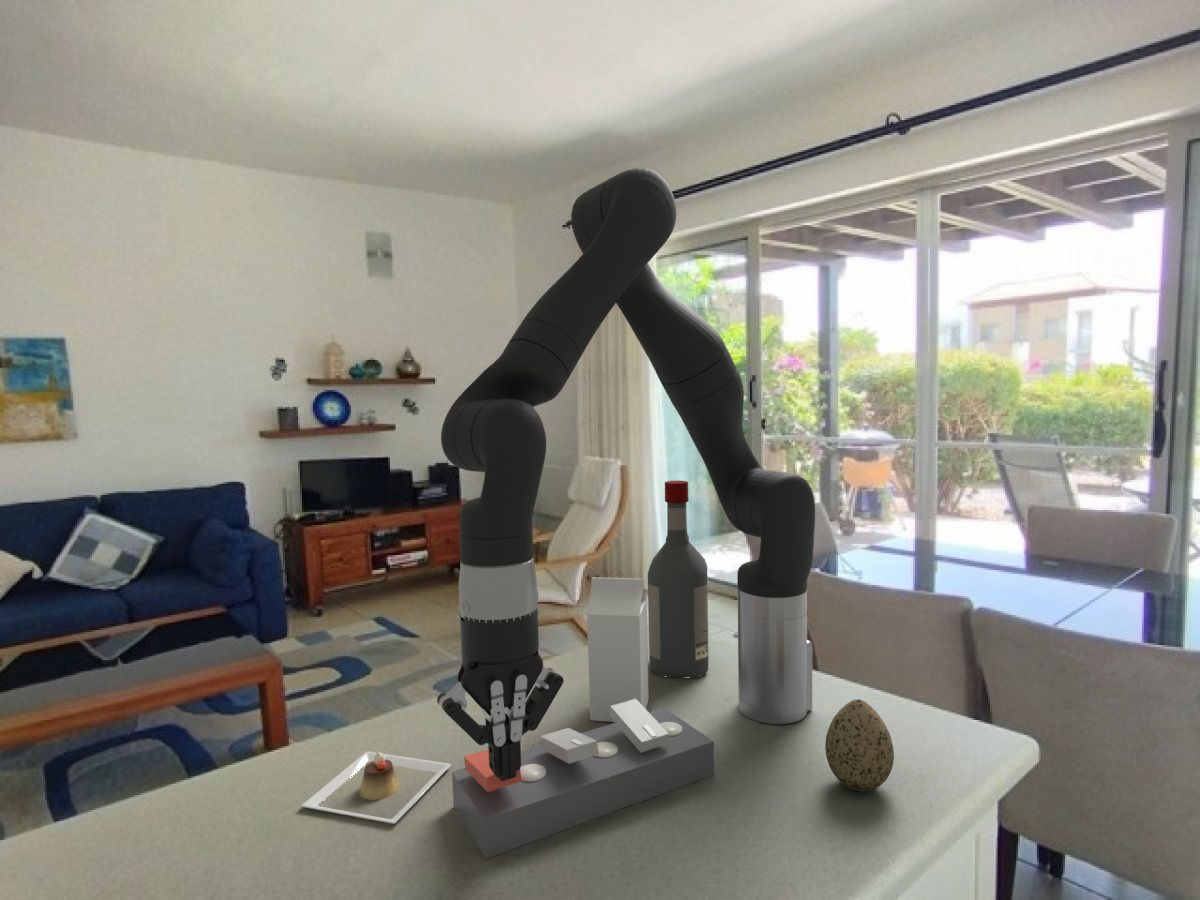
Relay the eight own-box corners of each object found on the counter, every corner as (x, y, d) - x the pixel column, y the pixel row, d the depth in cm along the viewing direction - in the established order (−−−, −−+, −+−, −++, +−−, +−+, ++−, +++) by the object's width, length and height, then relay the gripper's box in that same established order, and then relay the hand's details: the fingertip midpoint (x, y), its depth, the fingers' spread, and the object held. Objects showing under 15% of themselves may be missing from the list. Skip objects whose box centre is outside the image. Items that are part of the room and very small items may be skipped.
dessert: (395, 833, 73) (393, 789, 73) (300, 815, 77) (297, 773, 77) (452, 772, 85) (450, 734, 84) (367, 759, 88) (365, 722, 88)
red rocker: (496, 760, 77) (495, 746, 77) (521, 781, 71) (519, 766, 71) (465, 769, 76) (463, 755, 76) (487, 792, 69) (486, 776, 70)
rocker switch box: (665, 737, 91) (664, 706, 90) (714, 774, 82) (713, 739, 81) (453, 806, 77) (451, 770, 76) (485, 858, 68) (483, 817, 68)
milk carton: (641, 725, 94) (638, 586, 92) (589, 721, 96) (585, 584, 94) (648, 701, 101) (646, 572, 99) (600, 698, 102) (596, 570, 101)
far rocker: (634, 708, 86) (636, 697, 86) (667, 744, 80) (668, 732, 80) (609, 716, 84) (610, 705, 84) (640, 752, 78) (642, 741, 78)
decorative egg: (815, 791, 78) (815, 704, 77) (837, 762, 84) (837, 681, 83) (882, 813, 74) (883, 722, 73) (901, 782, 79) (902, 696, 78)
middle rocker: (570, 740, 82) (568, 726, 82) (598, 754, 76) (596, 739, 76) (541, 748, 80) (540, 735, 80) (568, 763, 74) (567, 748, 74)
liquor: (648, 677, 109) (644, 486, 107) (653, 655, 118) (650, 478, 116) (708, 680, 108) (705, 486, 105) (708, 657, 117) (706, 478, 114)
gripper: (544, 585, 75) (549, 742, 76) (420, 606, 68) (428, 777, 70) (577, 602, 68) (581, 774, 70) (444, 627, 62) (452, 816, 63)
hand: (505, 775), depth 70 cm, fingers closed
